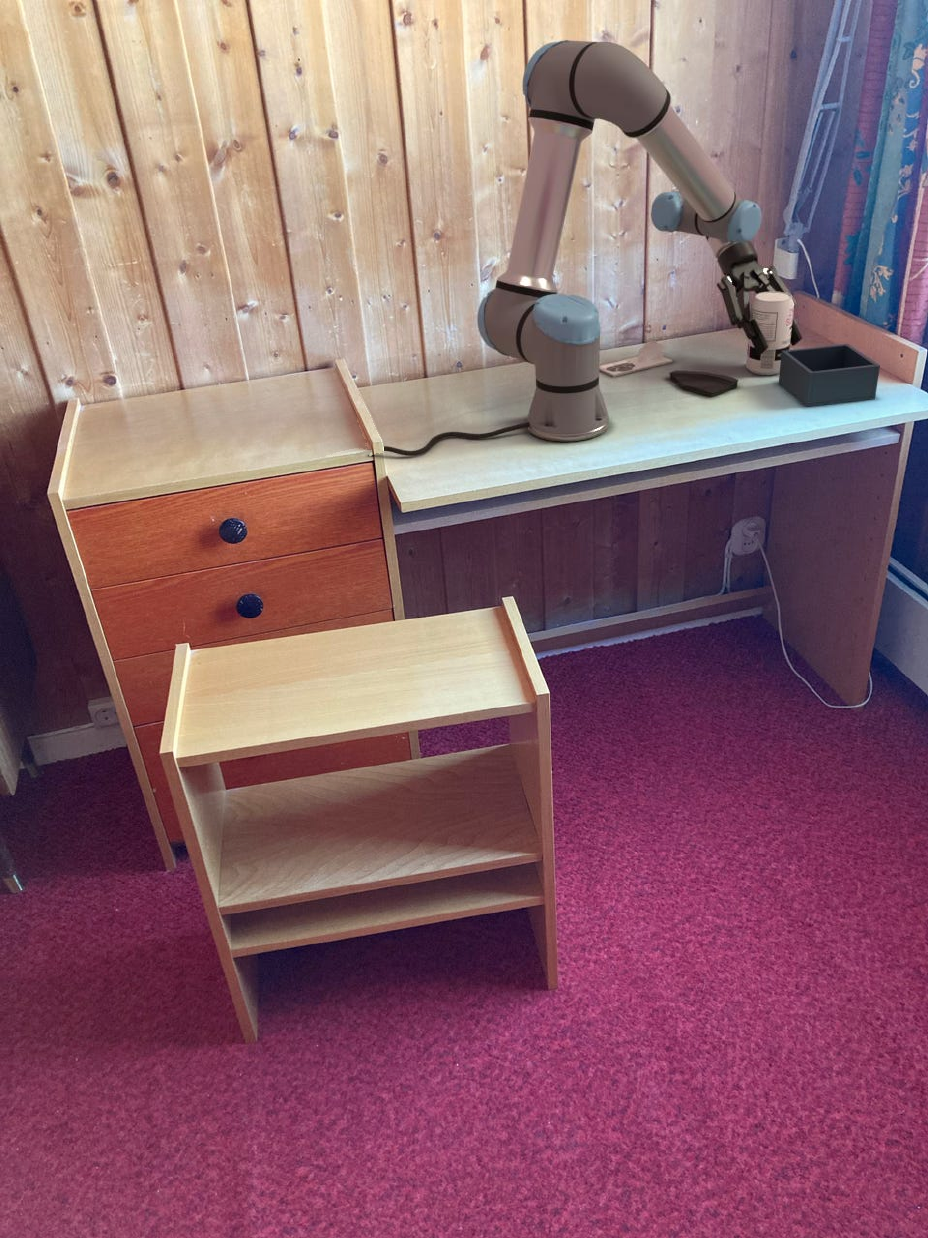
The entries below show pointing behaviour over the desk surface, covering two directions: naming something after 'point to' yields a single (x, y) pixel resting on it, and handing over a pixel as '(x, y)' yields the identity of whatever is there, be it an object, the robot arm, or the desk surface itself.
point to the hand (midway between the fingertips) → (780, 346)
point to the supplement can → (771, 331)
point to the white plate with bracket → (638, 361)
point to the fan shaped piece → (703, 382)
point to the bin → (828, 375)
